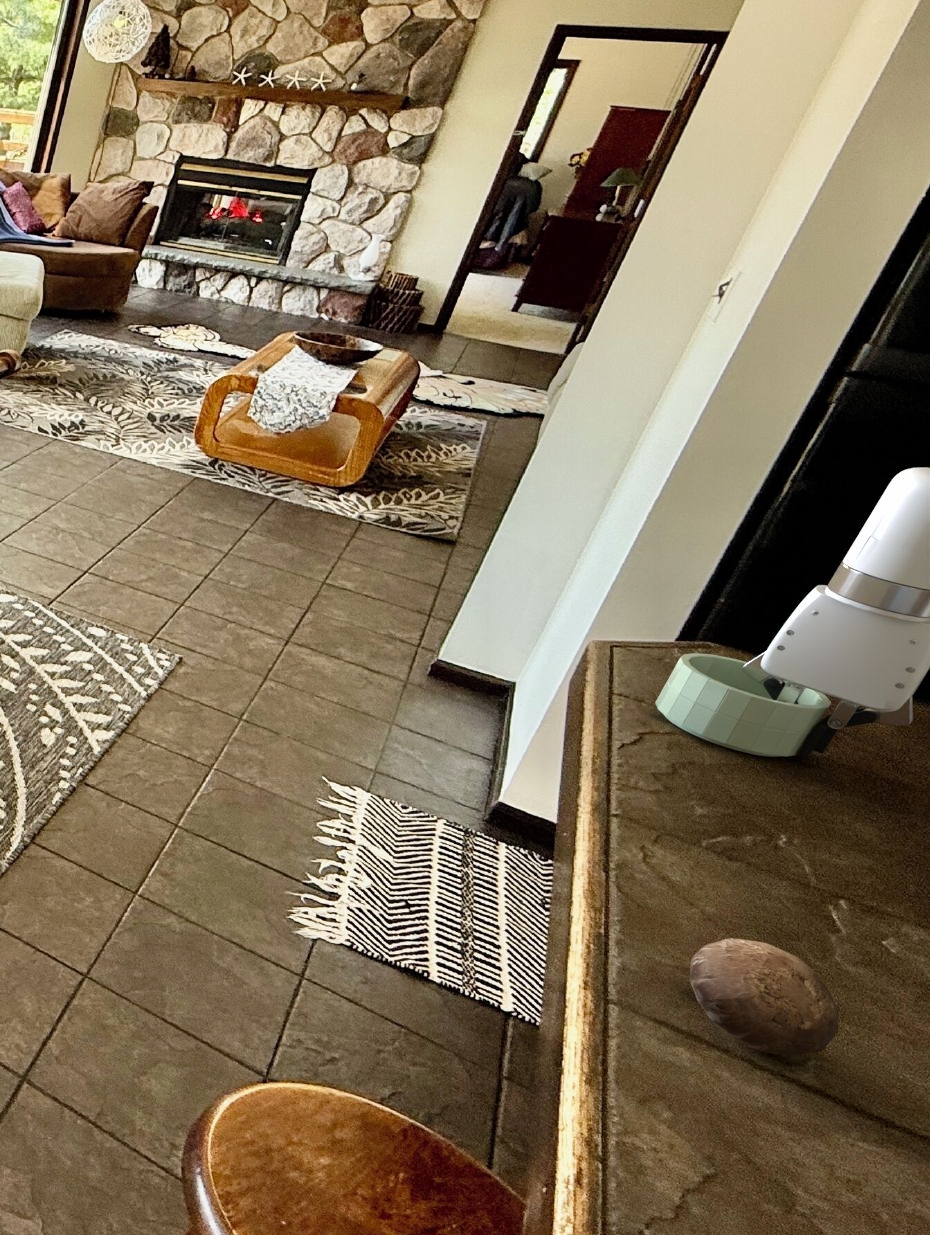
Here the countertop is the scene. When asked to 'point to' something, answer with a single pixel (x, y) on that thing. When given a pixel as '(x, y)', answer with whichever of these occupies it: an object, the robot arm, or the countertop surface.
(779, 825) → the countertop surface
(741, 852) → the countertop surface
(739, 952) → the mushroom
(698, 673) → the bowl
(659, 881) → the countertop surface
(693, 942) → the countertop surface
